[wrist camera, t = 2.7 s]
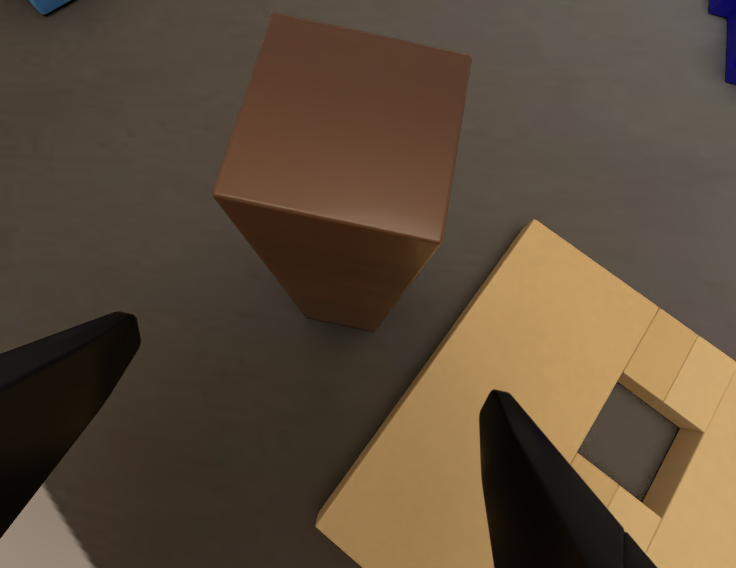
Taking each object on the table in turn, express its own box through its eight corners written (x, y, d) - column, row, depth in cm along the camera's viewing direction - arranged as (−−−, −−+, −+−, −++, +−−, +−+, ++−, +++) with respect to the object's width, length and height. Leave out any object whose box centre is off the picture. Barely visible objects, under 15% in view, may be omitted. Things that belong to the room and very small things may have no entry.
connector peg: (374, 332, 21) (443, 244, 6) (305, 317, 21) (209, 194, 6) (387, 266, 22) (473, 53, 7) (321, 252, 22) (271, 9, 7)
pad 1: (494, 668, 17) (508, 695, 16) (316, 514, 18) (314, 526, 17) (675, 337, 22) (698, 334, 20) (522, 227, 23) (534, 218, 21)
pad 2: (695, 841, 16) (729, 887, 15) (494, 668, 17) (508, 695, 16) (843, 457, 21) (880, 464, 19) (675, 337, 22) (698, 334, 20)
